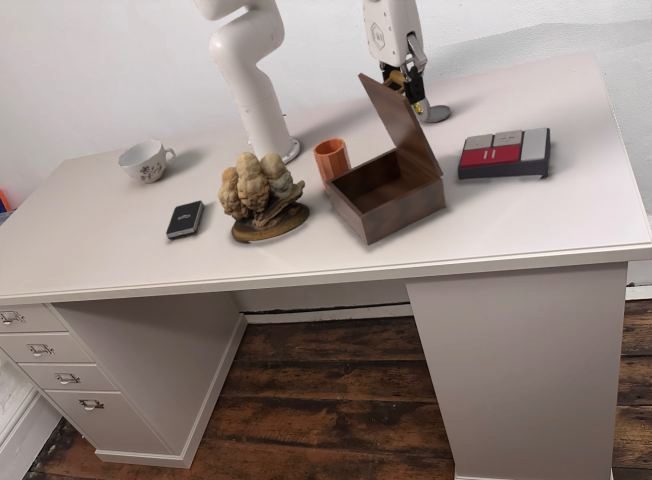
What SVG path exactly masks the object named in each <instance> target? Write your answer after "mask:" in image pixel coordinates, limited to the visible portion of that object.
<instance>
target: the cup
mask: <svg viewBox="0 0 652 480" xmlns="http://www.w3.org/2000/svg"><path fill="white" fill-rule="evenodd" d="M312 153H313V158H314V159H315V163H316V167H317V169H318V173H319V176H320V180H321V182H322V186H323V189H324V191H325V193H326V194H328V191H327V187H326V184H325V181H327V180H329V179H331V178H334V177H336V176H338V175H340V174H342V173H344V172H346V171H348V170H350V169H352V168H353V167H352V164H351V161H350V156H349V152H348V149H347V144H346V142H345V140H344V139H343V138H339V137H333V138H328V139H325V140H322V141H320V142H319V143H317V144H316V145H315V146H314V147H313V149H312Z"/></svg>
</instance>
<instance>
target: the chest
mask: <svg viewBox="0 0 652 480" xmlns="http://www.w3.org/2000/svg"><path fill="white" fill-rule="evenodd" d="M351 168H352V169H350V170H348V171H346V172H344V173H342V174H340V175H338V176H336V177H334V178H331V179H329V180H327V181H325V184H326V187H327V191H328V193H327V194H328V198H329V200H330V203H331V206H332V208H333V209H334V211H335V212H336V213H337V214H338V215H339V216H340V217H341V218H342V219H343V220H344V222H346V224H347V225H348V226H349V227H350V228H351V229H352V230H353V231H354V233H356V235H357V236H358V237H359V238H360V239H361V240H362V241H363V242H364V243H365V244H366V245H367V246H371V245H373V244H375V243H377V242H379V241H381V240H383V239H385V238H387V237H388V236H392V234H394V233H397V232H399V231H401V230H403V229H405V228H407V227H410V226H411V225H413V224H415V223H417V222H419V221H421V220H423V219H425V218H428V217H429V216H431V215H433V214H435V213H437V212H439V211H441V210H443V209H445V208H446V207H447V204H446V203H447V202H446V198H445V189H444V181H443V178H442V177H439V176H437V175H436V174H434V173H433V172H432V171H430V170H429V169H427V168H426V167H424V166H423V165H422V164H420V163H419V162H417V161H416V160H414V159H413V158H412V157H410V156H409V155H407V154H406V153H404V152H403V151H402V150H400V149H399V148H397V147H396V146H395V147H394V148H391V149H389V150H387V151H385V152H383V153H381V154H379V155H377V156H375V157H373V158H371V159H369V160H367V161H365V162H362V163H361V164H358V165H357V166H356V165H355V166H353V167H351Z"/></svg>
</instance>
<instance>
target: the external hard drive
mask: <svg viewBox="0 0 652 480" xmlns="http://www.w3.org/2000/svg"><path fill="white" fill-rule="evenodd" d="M204 208H205V204H204V202H203V201H202V200H201V199H199V200H196V201H191V202H188V203H184V204H180V205H176V206H175V207H174V208H173V210H172V211H173V212H172V214H171V217H170V220H169V223H168V225H167V229H166V231H165V235H166V237H167V239H168V240H170V241H172V240H176V239H181V238H185V237H190V236H194V235H197V233H198V230H199V227H200V223H201V220H202V216H203V212H204Z"/></svg>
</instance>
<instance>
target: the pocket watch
mask: <svg viewBox="0 0 652 480" xmlns="http://www.w3.org/2000/svg"><path fill="white" fill-rule="evenodd" d="M426 96H427V95H425V99H423V100H421V101H419V102H417V103H415V104H413V105H411V107H412V109H413V111H414V113H415V115H416V117H417V119H418V121H419V120H420V121H421V122H425V123H437V122H440V121H443V120H445V119H447V118H448V117H449V116H450V114H451V112H452V111H451V107H449V106H448V105H446V104H445V105H444V104H438V105H432V106H431V105H430V101H429V100H428V98H427V97H426Z"/></svg>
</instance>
